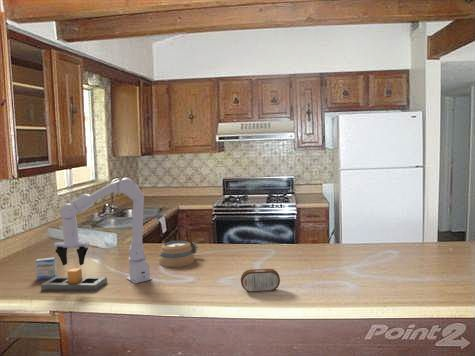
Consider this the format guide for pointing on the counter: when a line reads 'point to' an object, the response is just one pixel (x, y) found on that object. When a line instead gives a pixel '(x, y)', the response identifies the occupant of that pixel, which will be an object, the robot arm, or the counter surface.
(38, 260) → the medicine box
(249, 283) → the brown portable speaker
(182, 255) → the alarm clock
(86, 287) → the gray board with holes
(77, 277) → the square block
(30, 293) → the counter surface
